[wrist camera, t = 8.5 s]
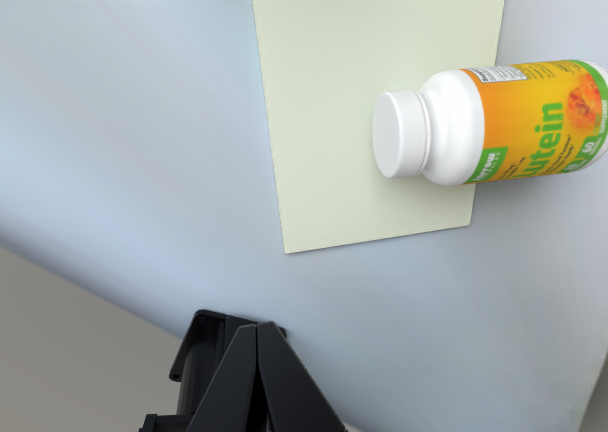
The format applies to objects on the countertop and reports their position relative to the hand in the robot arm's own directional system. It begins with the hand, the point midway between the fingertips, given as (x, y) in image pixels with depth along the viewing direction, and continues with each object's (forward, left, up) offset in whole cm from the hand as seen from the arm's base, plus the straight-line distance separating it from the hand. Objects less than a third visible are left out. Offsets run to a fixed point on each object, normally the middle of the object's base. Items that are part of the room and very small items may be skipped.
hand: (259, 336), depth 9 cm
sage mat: (+4, -6, -13) cm, 15 cm away
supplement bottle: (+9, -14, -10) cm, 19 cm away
